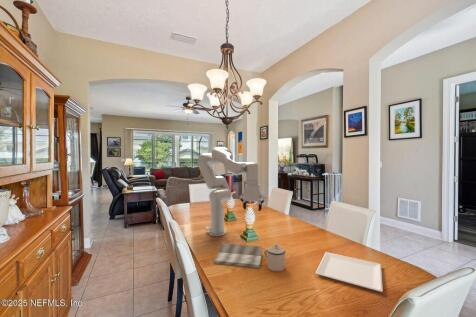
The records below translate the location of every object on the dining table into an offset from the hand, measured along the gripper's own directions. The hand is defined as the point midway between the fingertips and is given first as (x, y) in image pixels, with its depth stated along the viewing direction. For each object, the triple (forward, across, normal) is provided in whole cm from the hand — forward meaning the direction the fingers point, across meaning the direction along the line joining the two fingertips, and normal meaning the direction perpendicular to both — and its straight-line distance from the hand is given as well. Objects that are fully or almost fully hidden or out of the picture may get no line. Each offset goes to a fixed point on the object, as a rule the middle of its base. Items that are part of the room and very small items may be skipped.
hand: (252, 209), depth 136 cm
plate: (+23, +53, -13) cm, 59 cm away
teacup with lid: (+22, +18, -21) cm, 35 cm away
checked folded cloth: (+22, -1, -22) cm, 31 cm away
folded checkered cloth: (+21, -3, -13) cm, 25 cm away
